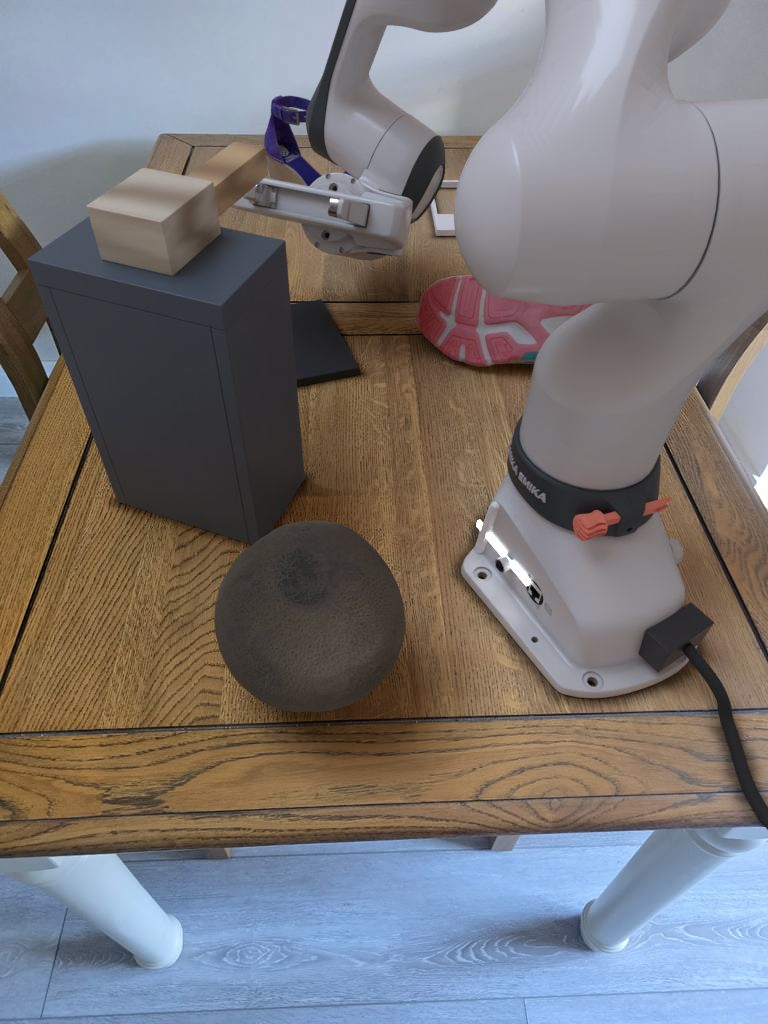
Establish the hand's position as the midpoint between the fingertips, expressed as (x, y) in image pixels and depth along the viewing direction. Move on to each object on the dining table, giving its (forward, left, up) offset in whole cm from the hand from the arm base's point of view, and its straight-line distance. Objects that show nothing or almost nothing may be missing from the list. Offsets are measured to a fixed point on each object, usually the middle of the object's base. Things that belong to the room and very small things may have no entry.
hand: (291, 198), depth 71 cm
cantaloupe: (-40, +10, -21) cm, 46 cm away
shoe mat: (+5, -1, -21) cm, 21 cm away
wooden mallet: (-13, +11, +5) cm, 18 cm away
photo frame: (+33, -38, -21) cm, 55 cm away
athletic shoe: (-5, -26, -21) cm, 34 cm away
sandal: (+42, -15, -21) cm, 49 cm away
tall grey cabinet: (-17, +14, -21) cm, 30 cm away
